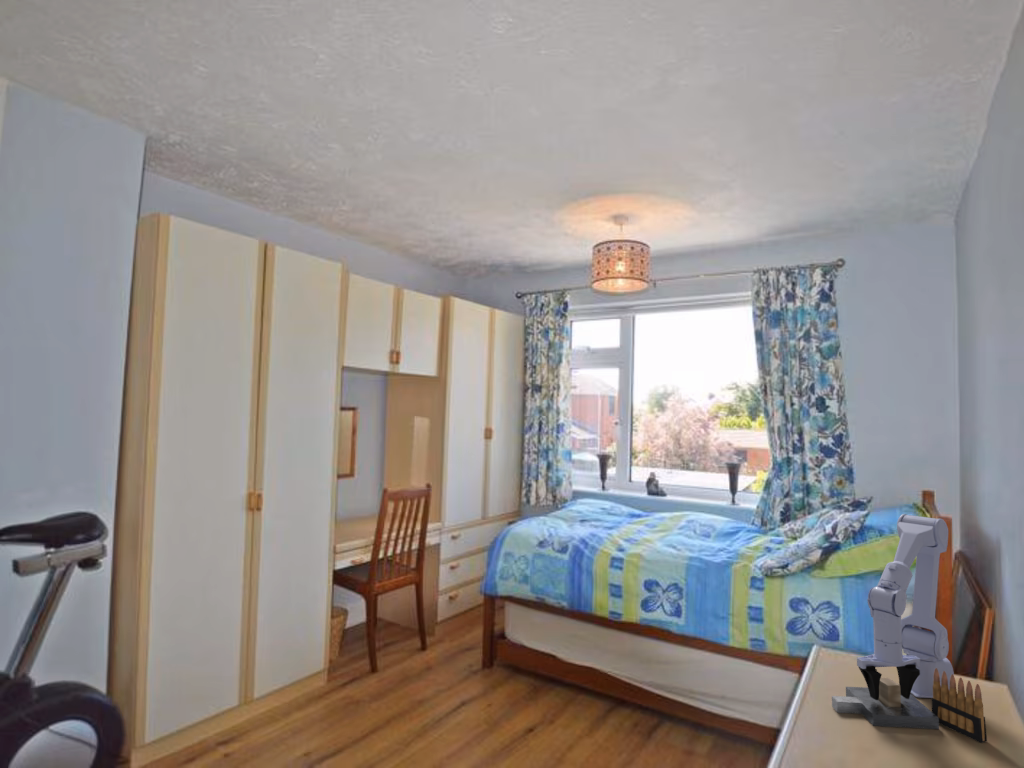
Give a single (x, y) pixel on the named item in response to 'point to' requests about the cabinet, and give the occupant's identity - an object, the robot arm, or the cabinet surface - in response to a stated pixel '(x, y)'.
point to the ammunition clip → (959, 707)
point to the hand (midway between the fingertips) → (889, 697)
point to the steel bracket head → (885, 710)
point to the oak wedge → (889, 693)
